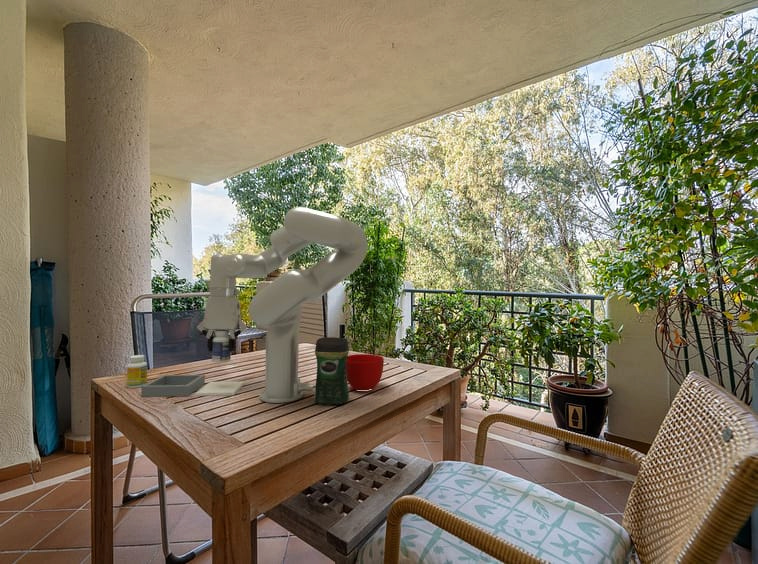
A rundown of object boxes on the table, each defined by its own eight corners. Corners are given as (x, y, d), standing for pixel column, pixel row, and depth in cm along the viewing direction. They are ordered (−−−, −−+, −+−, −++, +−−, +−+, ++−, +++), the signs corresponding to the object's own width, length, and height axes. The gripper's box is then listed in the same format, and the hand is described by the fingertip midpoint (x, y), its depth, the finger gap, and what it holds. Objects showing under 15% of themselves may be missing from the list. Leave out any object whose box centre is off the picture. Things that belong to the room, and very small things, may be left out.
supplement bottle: (131, 383, 118) (131, 354, 118) (149, 383, 119) (149, 354, 119) (123, 388, 112) (123, 358, 112) (142, 387, 114) (143, 357, 114)
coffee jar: (350, 398, 107) (351, 336, 107) (345, 407, 99) (346, 340, 99) (318, 396, 108) (320, 335, 108) (311, 405, 100) (312, 339, 100)
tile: (244, 383, 120) (244, 381, 120) (233, 395, 108) (233, 392, 108) (210, 384, 119) (210, 381, 119) (195, 395, 107) (195, 393, 107)
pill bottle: (223, 363, 110) (224, 332, 110) (208, 362, 111) (209, 331, 111) (234, 360, 115) (234, 329, 115) (219, 358, 117) (220, 328, 117)
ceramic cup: (381, 380, 127) (382, 352, 127) (384, 395, 110) (384, 362, 110) (345, 379, 127) (345, 351, 127) (342, 395, 110) (342, 362, 110)
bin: (204, 383, 119) (204, 374, 119) (187, 396, 106) (187, 386, 106) (163, 384, 118) (163, 375, 118) (141, 396, 105) (141, 386, 105)
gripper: (253, 293, 118) (252, 348, 118) (199, 292, 116) (198, 348, 116) (247, 294, 110) (246, 353, 110) (189, 293, 109) (188, 353, 109)
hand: (221, 350), depth 113 cm, fingers closed on pill bottle, 5 cm apart
